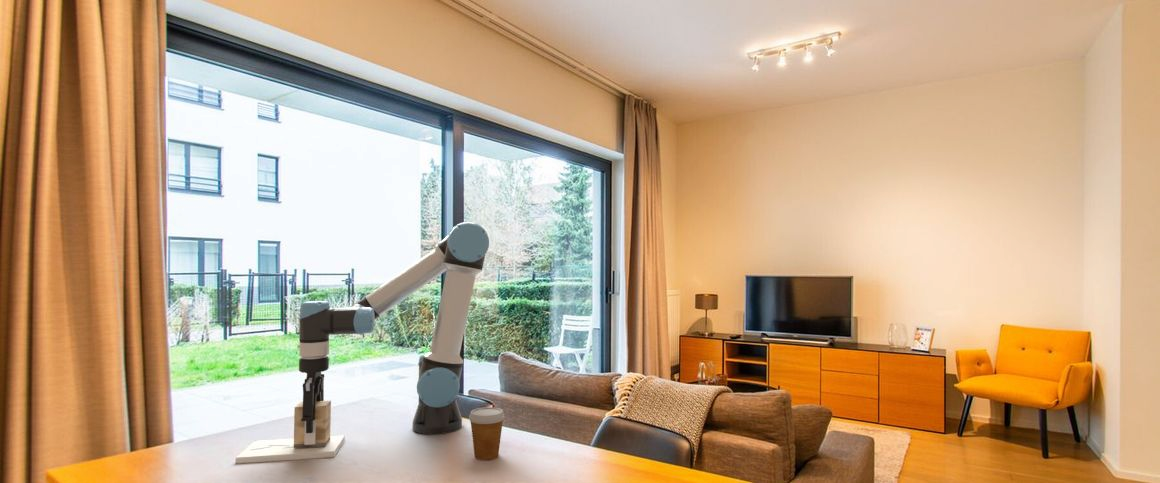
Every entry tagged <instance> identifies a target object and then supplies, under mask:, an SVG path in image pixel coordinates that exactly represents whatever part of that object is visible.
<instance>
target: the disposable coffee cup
mask: <svg viewBox="0 0 1160 483" xmlns="http://www.w3.org/2000/svg"><path fill="white" fill-rule="evenodd" d="M504 418H505V414H504V411H503V409H502V408H499V407H489V406H488V407H487V406H486V407H485V406H484V407H478V408H474V409H472V410H471V411H470V414H469V415H468V419H469V422H470V427H471V436H472V443H473V444H472V446H473V453H474V455H473V456H474V458H475V459H476V460H479V461H492V460H495V459H497V458H499V453H500V444H501V440H502V439H501V438H502V429H503V423H504V421H503V420H504Z"/></svg>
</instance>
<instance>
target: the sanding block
mask: <svg viewBox="0 0 1160 483" xmlns="http://www.w3.org/2000/svg"><path fill="white" fill-rule="evenodd" d="M331 408H332V400H324V401H316V410H315V419H316V444H312V445H304V431H305V421H301V419H302V415H303V401H300V402H299V403H298V404H296V405H295V406H294V412H293V413H294V417H293V418H294V419H293V439H294V448H305V447H324V446H326V445H327V443H328V442H329V441H330V436H331V424H332V423H331V422H332V421H331V420H332V416H331V414H332V409H331ZM307 416H309V415H307Z"/></svg>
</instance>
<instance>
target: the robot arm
mask: <svg viewBox="0 0 1160 483" xmlns="http://www.w3.org/2000/svg"><path fill="white" fill-rule="evenodd" d="M489 246H490V239H489V236H488V232H487V231H486V230H485V228H484V227H482V225H479V224H478V223H475V222H472V221H463V222H460V223H457V224H456V225H454V226H453V228H452V229H451V230H450V232H449V234H448V235H446V236H445V237H444V238H443V239H442V240H441V241H440V242H438V243H436V244H435V246H434V249H433V250H431V251H430V252H428V253H427V254H426V255H424V256H423V257H421V258H420V259H419V260H417V261H416V262H414V263H412V264H411V265H410V266H408V267H407V268H405V269H404V270H403V271H401V272H400V273H398V274H396V275H395V276H393V277H392V278H390V279H389V280H388V281H386V282H384V283H383V284H382V285H380V286H379V287H377V288H376V289H375V290H372V292H370V293H368V294H367V295H365V296H364V297H363V298H361V299H360V300H358V301H357V302H354V304H352V305H351V306H349V307H331V306H330V302H329V301H328V300H310V301H303V302H302V303H301V304H300V311H299V312H300V313H299V317H298V320H299V323H298V324H299V344H297V349H299V350H298V351H299V353H298V354H299V357H300V358H299V359H298V370H299V372H300V373H302V374H306V378H305V379H304V381H303V382H304V383H303V384H302V402H303V415H302V419H301V421H305V431H304V445H312V444H316V419H315V410H316V401H325V400H324V399H325V398H324V396H325V395H324V394H325V390H324V386H325V384H324V381H325V373H322V372H325V371H327V370H328V369H330V367H329V364H330V360H329V359H330V358H329V356H328V355H329V354H330V336H331V335H332V336H334V335H363V334H371V333H373V332H374V330H375V320H377V319H378V318H379V317H381V316H382V315H383V314H386V313H387V312H388V311H389V310H391V309H393V308H394V307H395V306H397V305H398V304H400V303H401V302H403V301H404V300H406V299H408V298H409V297H410V296H411V295H414V293H416V292H417V291H419V290H421V289H422V288H423V287H425V286H426V285H427V284H429V283H431V282H432V281H433V280H435V279H436V278H437V277H439V276H440V275H442V274H444V273H445V277H444V283H443V287H442V293H441V296H440V297H441V298H440V302H439V307H438V311H437V317H436V322H435V326H434V331H433V335H432V340H431V344H430V349H429V351H427V352H426V353H425V354H422V355H420V356H419V358H418V363H417V366H418V379H417V385H416V392H417V395H418V404H417V407H416V411H415V413H414V417H413V419H412V430H413V432H415V433H418V434H422V435H423V434H426V435H440V434H448V433H451V432H455V431H458V430H459V429H460V428H462V427H463V417H462V415H461V414H462V413H461V412H460V408H459V404H458V402H457V397H458V395H459V393H460V388H461V382H460V380H461V376H462V370H463V365H464V360H463V358H462V357H461V355H460V354H461V350H462V345H463V340H464V334H465V329H466V325H467V321H468V316H469V311H470V306H471V301H472V296H473V290H474V285H475V281H476V276H477V275H478V274H479V273H481V272H482V271H483V268H484V262H485V259H486V258H485V257H486V254H487V252H488V249H489ZM307 415H309V416H307Z"/></svg>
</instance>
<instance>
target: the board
mask: <svg viewBox="0 0 1160 483" xmlns="http://www.w3.org/2000/svg"><path fill="white" fill-rule="evenodd" d="M345 437H346V435H332V436H331V435H330V441H329V442H328V443H327V445H326V446H324V447H305V448H294V438H280V439H265V440H254V441H253V442H252V443H251V444H249V446H247V447H246V448H245V449H244V450H242V451H241V453H239V454H238V455H237V456H235V464H247V463H248V464H249V463H260V462H261V463H262V462H276V461H277V462H278V461H279V462H280V461H291V460H295V461H296V460H308V459H323V458H335V457H336V455H337V453H338V452H339V450H340V449H341V447H342V446H343V444H344V442H345V441H346V438H345Z"/></svg>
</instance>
